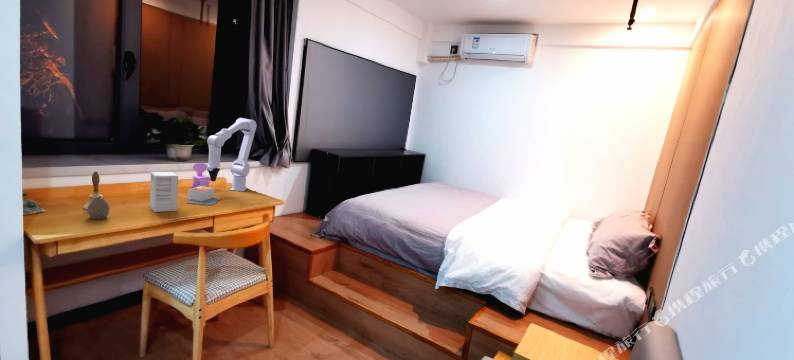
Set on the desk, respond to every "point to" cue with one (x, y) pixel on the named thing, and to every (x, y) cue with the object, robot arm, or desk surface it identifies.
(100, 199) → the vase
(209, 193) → the small box
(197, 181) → the toy chair
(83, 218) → the desk surface
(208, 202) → the slate mat
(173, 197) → the supplement box
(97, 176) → the hand bell
